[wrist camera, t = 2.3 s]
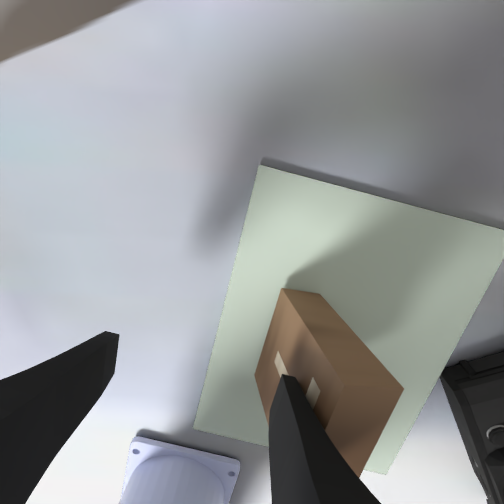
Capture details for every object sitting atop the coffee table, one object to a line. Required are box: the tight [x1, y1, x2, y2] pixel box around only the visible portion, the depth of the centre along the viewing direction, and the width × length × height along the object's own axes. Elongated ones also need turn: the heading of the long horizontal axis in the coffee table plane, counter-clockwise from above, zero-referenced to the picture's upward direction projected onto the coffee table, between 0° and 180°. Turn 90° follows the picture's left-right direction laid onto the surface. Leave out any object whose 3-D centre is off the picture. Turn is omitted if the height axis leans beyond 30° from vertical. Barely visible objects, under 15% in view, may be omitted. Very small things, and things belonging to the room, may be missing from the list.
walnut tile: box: [254, 288, 404, 478], centre depth 13 cm, size 6×2×7 cm, turn 166°
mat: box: [193, 165, 504, 475], centre depth 17 cm, size 18×14×1 cm
